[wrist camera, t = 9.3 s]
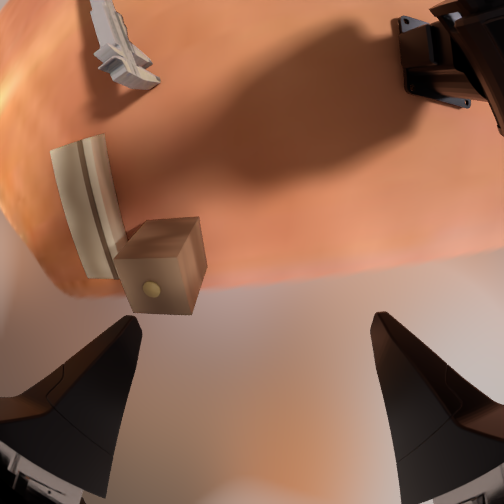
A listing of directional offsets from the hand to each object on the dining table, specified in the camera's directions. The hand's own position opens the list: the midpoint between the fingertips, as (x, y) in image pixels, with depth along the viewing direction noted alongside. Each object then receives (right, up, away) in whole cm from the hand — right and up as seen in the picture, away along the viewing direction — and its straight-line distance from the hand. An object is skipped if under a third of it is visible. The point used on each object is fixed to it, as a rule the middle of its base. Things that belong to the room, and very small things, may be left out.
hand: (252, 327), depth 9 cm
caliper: (-11, +22, +2) cm, 25 cm away
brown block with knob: (-6, +3, +12) cm, 14 cm away
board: (-13, +6, +11) cm, 18 cm away
